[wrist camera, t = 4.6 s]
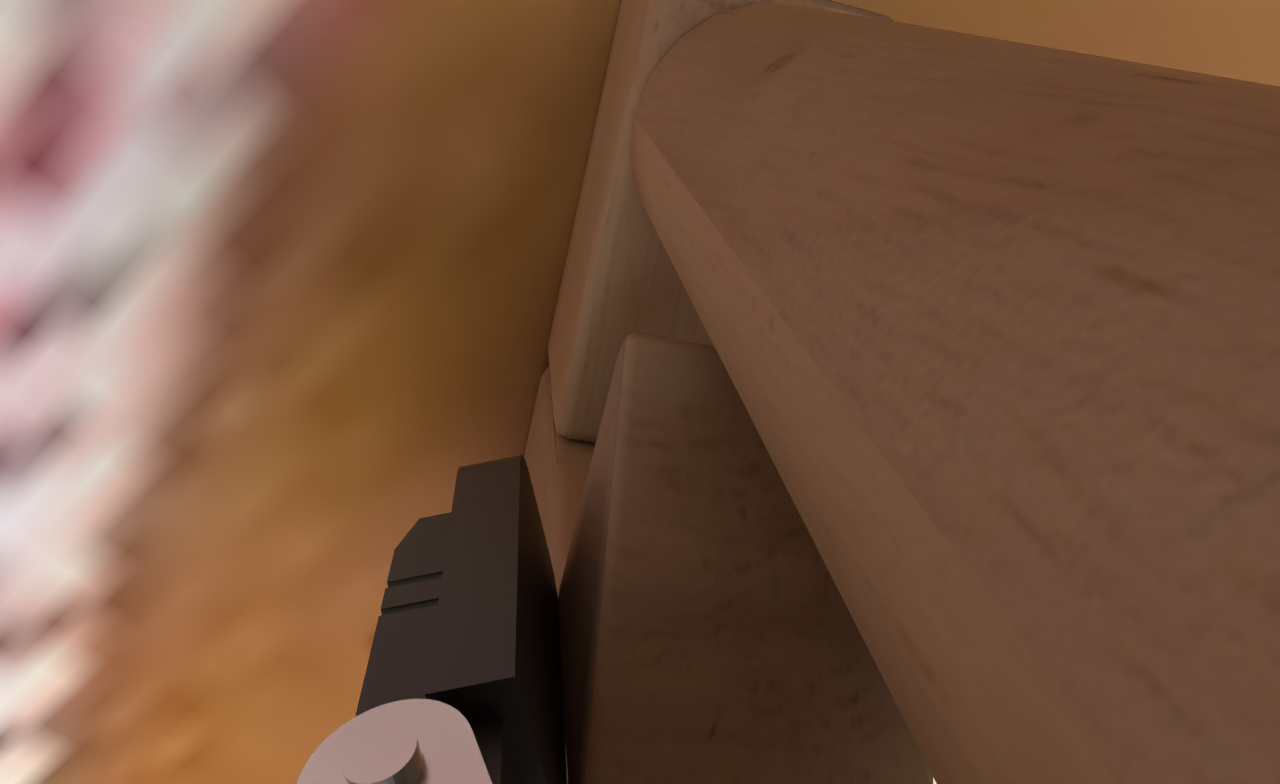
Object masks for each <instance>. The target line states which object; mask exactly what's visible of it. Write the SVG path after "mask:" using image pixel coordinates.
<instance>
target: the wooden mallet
mask: <svg viewBox="0 0 1280 784" xmlns="http://www.w3.org/2000/svg"><path fill="white" fill-rule="evenodd" d="M548 356H549V366H548V367H547V369H546V370H545V372H544V373H543V374H542V376H541V379H540V383H539V388H538V393H537V397H536V402H535V407H534V411H533V416H532V421H531V425H530V430H529V435H528V439H527V444H526V449H525V453H524V459H525V461H526V464H527V467H528V470H529V474H530V478H531V482H532V486H533V490H534V494H535V498H536V502H537V506H538V510H539V514H540V518H541V522H542V526H543V530H544V534H545V538H546V542H547V546H548V550H549V554H550V558H551V562H552V567H553V571H554V576H555V581H556V587H557V594H558V604H559V623H560V643H561V663H562V683H563V703H564V723H565V743H566V767H567V784H933V778H934V779H935V781H936V783H937V784H1280V87H1277V86H1271V85H1265V84H1259V83H1254V82H1248V81H1242V80H1236V79H1230V78H1224V77H1218V76H1212V75H1206V74H1200V73H1194V72H1188V71H1183V70H1177V69H1171V68H1165V67H1159V66H1153V65H1147V64H1141V63H1135V62H1129V61H1123V60H1117V59H1112V58H1106V57H1100V56H1094V55H1088V54H1082V53H1076V52H1070V51H1064V50H1058V49H1052V48H1046V47H1041V46H1035V45H1029V44H1023V43H1017V42H1011V41H1005V40H999V39H993V38H987V37H981V36H975V35H970V34H964V33H958V32H952V31H946V30H940V29H934V28H928V27H922V26H916V25H910V24H905V23H899V22H894V21H893V20H892V19H891V18H889V17H888V16H885V15H882V14H878V13H874V12H871V11H867V10H863V9H860V8H856V7H853V6H849V5H845V4H842V3H838V2H835V1H831V0H622V1H621V5H620V10H619V15H618V19H617V24H616V29H615V33H614V38H613V43H612V47H611V52H610V57H609V61H608V66H607V71H606V75H605V80H604V85H603V89H602V94H601V99H600V103H599V108H598V113H597V118H596V122H595V127H594V132H593V136H592V141H591V146H590V150H589V155H588V160H587V164H586V169H585V174H584V178H583V183H582V188H581V192H580V197H579V202H578V206H577V211H576V216H575V220H574V225H573V230H572V234H571V239H570V244H569V248H568V253H567V258H566V262H565V267H564V272H563V276H562V281H561V286H560V290H559V295H558V300H557V304H556V309H555V314H554V318H553V323H552V328H551V332H550V337H549V342H548Z"/></svg>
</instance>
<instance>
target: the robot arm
mask: <svg viewBox="0 0 1280 784" xmlns="http://www.w3.org/2000/svg"><path fill="white" fill-rule="evenodd" d="M387 583H388V588H386V589H385V593H384V597H383V602H382V606H381V612H382V616H379V619H378V623H377V627H376V631H375V636H374V640H373V644H372V648H371V653H370V657H369V661H368V665H367V670H366V674H365V678H364V682H363V687H362V691H361V695H360V699H359V704H358V708H357V712H356V716H355V718H353V719H351V720H350V721H348V722H347V723H345V724H344V725H342V726H341V727H340V728H338V729H337V730H336V731H335V732H333V733H332V734H331V735H330V736H329V737H328V738H327V739H326V740H325V741H324V742H323V743H322V744H321V745H320V746H319V747H318V748H317V749H316V751H315V752H314V753H313V754H312V756H311V757H310V758H309V760H308V761H307V763H306V765H305V766H304V768H303V770H302V772H301V774H300V776H299V779H298V781H297V784H567V767H566V743H565V723H564V703H563V683H562V663H561V643H560V623H559V604H558V594H557V587H556V581H555V576H554V571H553V567H552V562H551V558H550V554H549V550H548V546H547V542H546V538H545V534H544V530H543V526H542V522H541V518H540V514H539V510H538V506H537V502H536V498H535V494H534V490H533V486H532V482H531V478H530V474H529V470H528V467H527V464H526V461H525V459H524V457H523V456H522V455H520V456H515V457H510V458H504V459H499V460H494V461H489V462H484V463H478V464H473V465H468V466H463V467H460V468H459V469H458V472H457V479H456V485H455V492H454V499H453V506H452V512H451V513H445V514H440V515H435V516H430V517H425V518H420V519H419V520H418V521H417V522H416V524H415V525H414V526H413V527H412V529H411V530H410V531H409V532H408V534H407V535H406V536H405V537H404V539H403V540H402V541H401V542H400V544H399V545H398V546H397V547H396V549H395V551H394V555H393V559H392V564H391V568H390V572H389V576H388V581H387Z"/></svg>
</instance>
